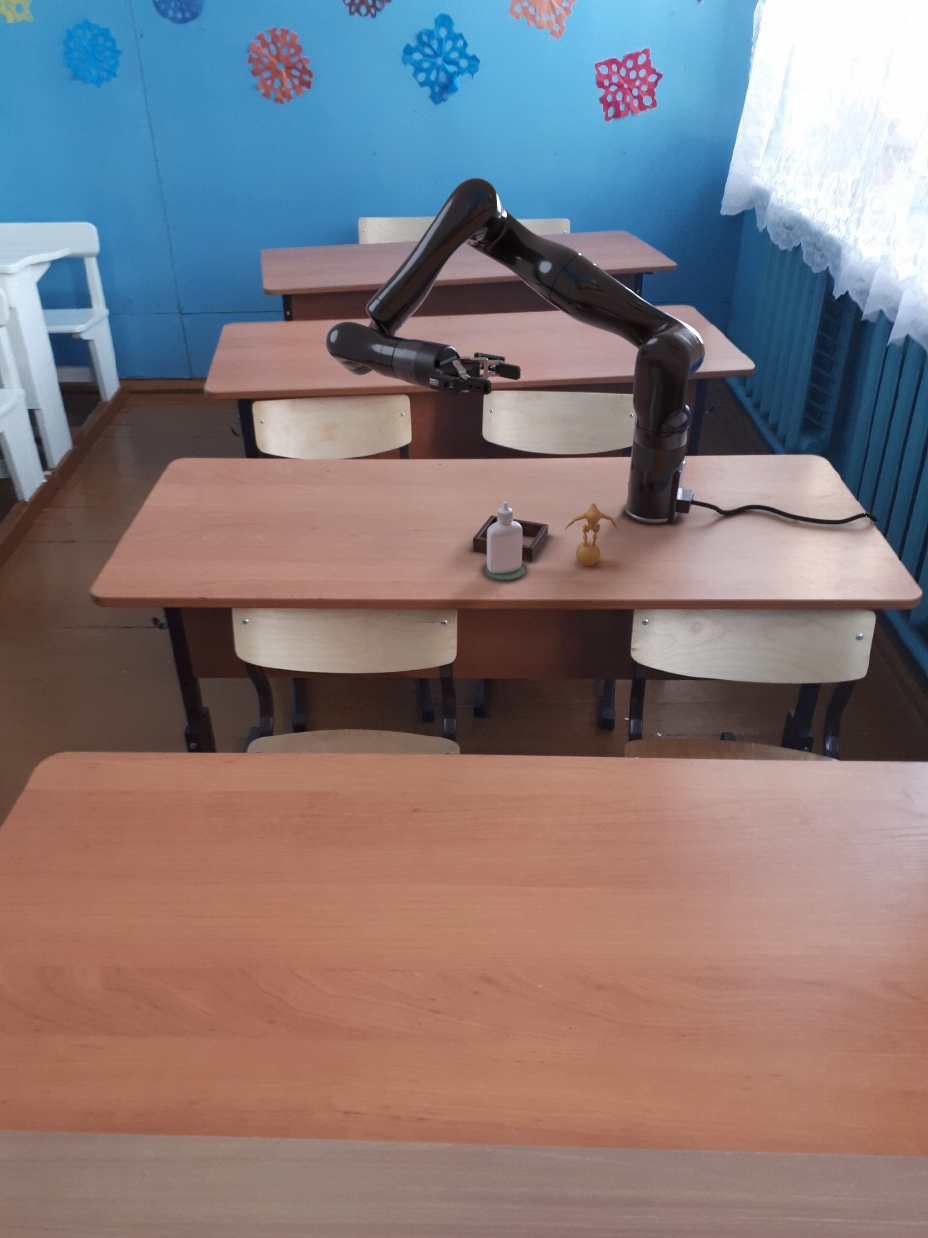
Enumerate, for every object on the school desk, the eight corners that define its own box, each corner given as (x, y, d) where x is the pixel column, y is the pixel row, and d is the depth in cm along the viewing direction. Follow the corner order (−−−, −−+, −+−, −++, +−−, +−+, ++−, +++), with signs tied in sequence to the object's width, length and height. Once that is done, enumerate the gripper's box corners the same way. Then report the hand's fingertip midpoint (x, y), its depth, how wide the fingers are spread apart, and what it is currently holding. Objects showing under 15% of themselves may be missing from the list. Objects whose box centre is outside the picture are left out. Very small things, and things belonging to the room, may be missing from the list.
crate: (547, 537, 153) (548, 524, 152) (532, 561, 146) (532, 548, 145) (490, 527, 156) (491, 515, 155) (473, 551, 149) (472, 538, 148)
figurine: (610, 557, 147) (616, 492, 140) (615, 575, 142) (622, 509, 135) (560, 558, 147) (564, 493, 140) (564, 576, 142) (568, 510, 135)
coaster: (529, 564, 145) (529, 562, 145) (517, 583, 140) (517, 581, 140) (493, 558, 147) (493, 556, 147) (480, 576, 142) (480, 574, 142)
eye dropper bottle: (519, 576, 141) (521, 509, 135) (485, 573, 142) (485, 507, 135) (522, 563, 145) (524, 497, 138) (489, 560, 146) (489, 495, 139)
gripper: (397, 352, 142) (479, 369, 134) (449, 331, 151) (529, 346, 143) (400, 397, 146) (480, 416, 138) (451, 374, 155) (528, 390, 147)
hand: (505, 380), depth 141 cm, fingers open, 8 cm apart
